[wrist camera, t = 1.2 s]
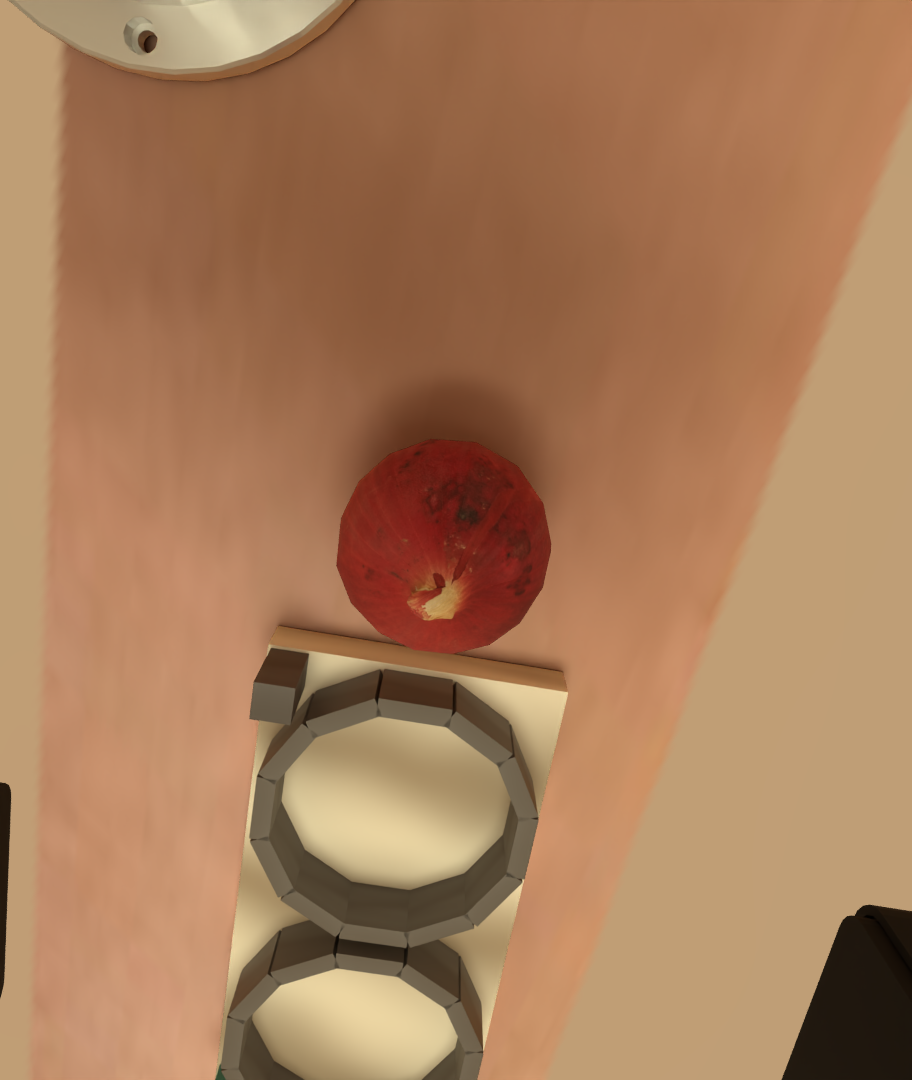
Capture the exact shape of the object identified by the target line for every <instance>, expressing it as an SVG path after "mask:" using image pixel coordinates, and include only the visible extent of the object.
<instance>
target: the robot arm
mask: <svg viewBox="0 0 912 1080" xmlns="http://www.w3.org/2000/svg"><path fill="white" fill-rule="evenodd" d="M9 1H10V2H11V3H12V4H13V5H15V6H16V7H17V8H18V9H19V10H21V11H22V12H23V13H24V14H25V15H27V16H28V17H29V18H30V19H31V20H32V21H33V22H35V23H36V24H37V25H38V26H39V27H41V28H42V29H44V30H45V31H47V32H49V33H50V34H52V35H53V36H55V37H56V38H58V39H60V40H61V41H63V42H64V43H66V44H67V45H69V46H71V47H72V48H74V49H76V50H78V51H80V52H82V53H84V54H86V55H89V56H91V57H93V58H95V59H97V60H99V61H101V62H104V63H106V64H108V65H110V66H112V67H114V68H116V69H120V70H124V71H128V72H132V73H136V74H140V75H144V76H148V77H152V78H156V79H160V80H183V81H210V80H215V79H221V78H226V77H232V76H238V75H243V74H249V73H251V72H253V71H256V70H258V69H261V68H263V67H265V66H268V65H270V64H273V63H275V62H277V61H280V60H282V59H284V58H287V57H289V56H291V55H292V54H294V53H295V52H296V51H298V50H299V49H301V48H302V47H304V46H305V45H306V44H308V43H309V42H311V41H312V40H314V39H315V38H317V37H318V36H319V35H321V34H322V33H324V32H325V31H326V30H327V29H328V28H329V27H330V26H331V25H332V24H333V23H334V22H335V21H336V20H337V19H338V18H339V17H340V16H341V15H342V14H343V13H344V11H345V10H346V9H347V8H348V7H349V6H350V5H351V4H352V3H353V2H354V1H355V0H9ZM149 35H156V37H157V39H158V41H157V44H156V47H155V49H154V50H153V51H152V52H150V53H146V52H145V50H144V41H145V39H146V38H147V37H148V36H149ZM10 812H11V790H10V787H9V785H8V784H6V783H0V997H1V994H2V989H3V985H4V972H5V945H6V919H7V890H8V864H9V839H10ZM782 1080H912V911H906V910H899V909H893V908H887V907H881V906H874V905H865V906H862V907H861V908H860V909H859V910H857V912H856V914H855V916H847V917H846V918H845V919H844V920H843V921H842V923H841V925H840V927H839V930H838V932H837V935H836V938H835V940H834V943H833V945H832V948H831V951H830V953H829V956H828V959H827V961H826V964H825V966H824V969H823V972H822V974H821V977H820V980H819V982H818V985H817V988H816V990H815V993H814V996H813V998H812V1001H811V1003H810V1006H809V1009H808V1011H807V1014H806V1017H805V1019H804V1022H803V1025H802V1027H801V1030H800V1033H799V1035H798V1038H797V1040H796V1043H795V1046H794V1049H793V1051H792V1054H791V1056H790V1059H789V1062H788V1064H787V1067H786V1070H785V1072H784V1075H783V1078H782Z"/></svg>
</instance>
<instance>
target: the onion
mask: <svg viewBox="0 0 912 1080" xmlns="http://www.w3.org/2000/svg"><path fill="white" fill-rule="evenodd" d="M550 553H551V540H550V535H549V530H548V525H547V520H546V515H545V510H544V505H543V502H542V501H541V500H540V498H539V497H538V495H537V494H536V492H535V491H534V489H533V488H532V486H531V485H530V483H529V482H528V481H527V479H526V478H525V476H524V475H523V473H522V472H521V470H520V469H519V467H518V466H516V465H515V464H513V463H512V462H510V461H508V460H506V459H505V458H503V457H501V456H499V455H498V454H496V453H494V452H492V451H491V450H489V449H487V448H485V447H484V446H482V445H480V444H478V443H477V442H465V441H451V440H436V439H430V440H427V441H424V442H421V443H419V444H416V445H413V446H410V447H408V448H405V449H402V450H399V451H397V452H394V453H391V454H389V455H388V456H387V457H386V458H385V459H384V460H382V461H381V462H380V463H379V464H378V465H377V466H376V467H375V468H373V469H372V470H371V471H370V472H369V473H368V474H367V475H366V476H364V477H363V478H362V479H361V480H360V481H359V482H358V485H357V487H356V489H355V491H354V493H353V495H352V497H351V499H350V501H349V503H348V505H347V507H346V509H345V511H344V513H343V515H342V517H341V524H340V534H339V544H338V555H337V565H336V566H337V568H338V571H339V573H340V576H341V578H342V581H343V584H344V586H345V589H346V591H347V594H348V596H349V599H350V601H351V603H352V604H353V605H354V607H355V608H356V609H357V610H358V611H359V612H360V613H361V614H362V615H363V616H364V617H365V618H366V619H367V620H368V621H369V622H370V623H371V624H372V625H373V626H374V628H375V629H376V630H377V631H378V632H380V633H381V634H383V635H385V636H387V637H389V638H391V639H393V640H395V641H397V642H399V643H401V644H403V645H405V646H407V647H409V648H411V649H413V650H418V651H428V652H437V653H446V654H454V653H458V652H462V651H466V650H470V649H474V648H478V647H482V646H486V645H490V644H491V643H493V642H494V641H495V640H497V639H498V638H500V637H501V636H502V635H504V634H505V633H507V632H508V631H509V630H511V629H512V628H514V627H515V626H516V625H518V624H519V623H520V622H521V620H522V619H523V617H524V616H525V614H526V613H527V611H528V610H529V608H530V606H531V605H532V603H533V602H534V600H535V599H536V597H537V596H538V594H539V592H540V591H541V589H542V588H543V584H544V579H545V575H546V570H547V566H548V561H549V557H550Z"/></svg>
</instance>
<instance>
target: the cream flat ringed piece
mask: <svg viewBox="0 0 912 1080" xmlns="http://www.w3.org/2000/svg"><path fill="white" fill-rule="evenodd" d="M567 696H568V689H567V686H566V682H565V679H564V675H563V672H561V671H554V670H548V669H542V668H536V667H530V666H523V665H517V664H511V663H505V662H499V661H493V660H486V659H480V658H474V657H468V656H462V655H455V654H446V653H437V652H428V651H418V650H413V649H411V648H409V647H406V646H400V645H394V644H387V643H381V642H375V641H369V640H363V639H357V638H350V637H344V636H338V635H332V634H326V633H320V632H313V631H307V630H301V629H295V628H289V627H282V626H278V627H277V629H276V631H275V633H274V634H273V636H272V638H271V640H270V642H269V644H268V652H267V657H266V659H265V661H264V663H263V665H262V667H261V669H260V671H259V673H258V675H257V677H256V679H255V680H254V684H253V693H252V701H251V710H250V718H249V719H253V720H259V725H258V734H257V742H256V750H255V758H254V766H253V775H252V783H251V791H250V799H249V808H248V816H247V824H246V832H245V840H244V849H243V857H242V865H241V873H240V881H239V890H238V898H237V906H236V914H235V922H234V931H233V939H232V947H231V955H230V963H229V972H228V980H227V988H226V996H225V1004H224V1013H223V1021H222V1029H221V1037H220V1045H219V1054H218V1062H217V1070H216V1078H215V1080H477V1078H478V1074H479V1070H480V1066H481V1061H482V1057H483V1051H484V1047H485V1043H486V1039H487V1034H488V1030H489V1026H490V1022H491V1017H492V1013H493V1009H494V1005H495V1000H496V996H497V992H498V988H499V984H500V979H501V975H502V971H503V967H504V962H505V958H506V954H507V950H508V945H509V941H510V937H511V933H512V929H513V924H514V920H515V916H516V912H517V907H518V903H519V899H520V895H521V890H522V886H523V882H524V879H525V875H526V871H527V867H528V863H529V858H530V854H531V850H532V846H533V841H534V837H535V833H536V829H537V824H538V818H539V814H540V810H541V806H542V802H543V797H544V793H545V789H546V785H547V780H548V776H549V772H550V768H551V763H552V759H553V755H554V751H555V747H556V742H557V738H558V734H559V730H560V725H561V721H562V717H563V713H564V708H565V704H566V700H567Z"/></svg>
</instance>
